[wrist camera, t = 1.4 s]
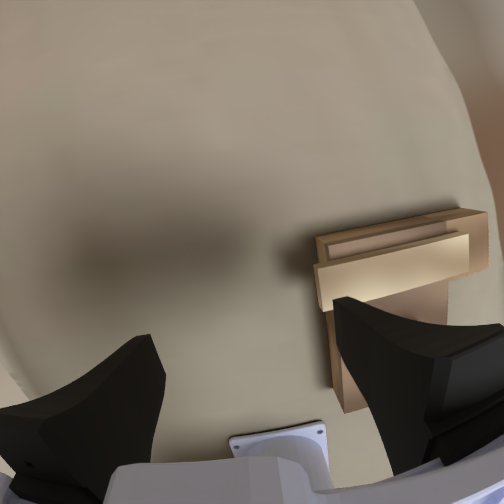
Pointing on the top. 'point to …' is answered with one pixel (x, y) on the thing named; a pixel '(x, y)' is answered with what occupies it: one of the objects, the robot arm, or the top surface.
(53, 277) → the top surface
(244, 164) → the top surface
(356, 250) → the lid
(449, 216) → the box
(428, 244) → the beige wooden plank
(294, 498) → the robot arm
